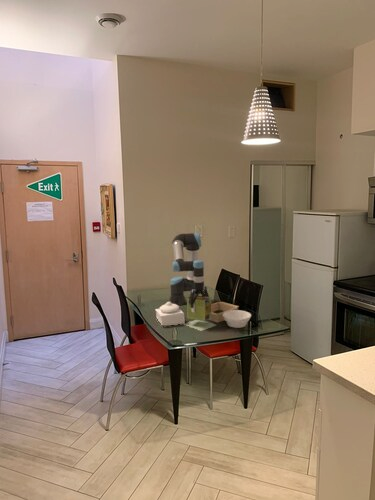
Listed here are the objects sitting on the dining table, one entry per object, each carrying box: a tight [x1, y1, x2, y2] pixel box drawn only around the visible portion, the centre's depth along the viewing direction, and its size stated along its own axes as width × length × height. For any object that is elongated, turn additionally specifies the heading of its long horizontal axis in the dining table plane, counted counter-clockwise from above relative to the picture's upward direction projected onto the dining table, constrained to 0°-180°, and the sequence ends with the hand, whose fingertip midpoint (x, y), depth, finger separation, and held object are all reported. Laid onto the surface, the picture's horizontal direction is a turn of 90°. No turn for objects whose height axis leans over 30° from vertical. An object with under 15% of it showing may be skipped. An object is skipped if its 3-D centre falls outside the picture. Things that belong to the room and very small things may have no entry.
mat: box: [182, 319, 217, 332], centre depth 279 cm, size 19×16×1 cm
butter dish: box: [154, 301, 186, 326], centre depth 286 cm, size 18×18×16 cm
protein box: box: [186, 294, 212, 322], centre depth 277 cm, size 10×15×16 cm
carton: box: [207, 301, 240, 323], centre depth 298 cm, size 21×28×6 cm
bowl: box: [223, 309, 252, 329], centre depth 277 cm, size 21×21×8 cm
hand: (199, 310), depth 277 cm, fingers closed on protein box, 12 cm apart
